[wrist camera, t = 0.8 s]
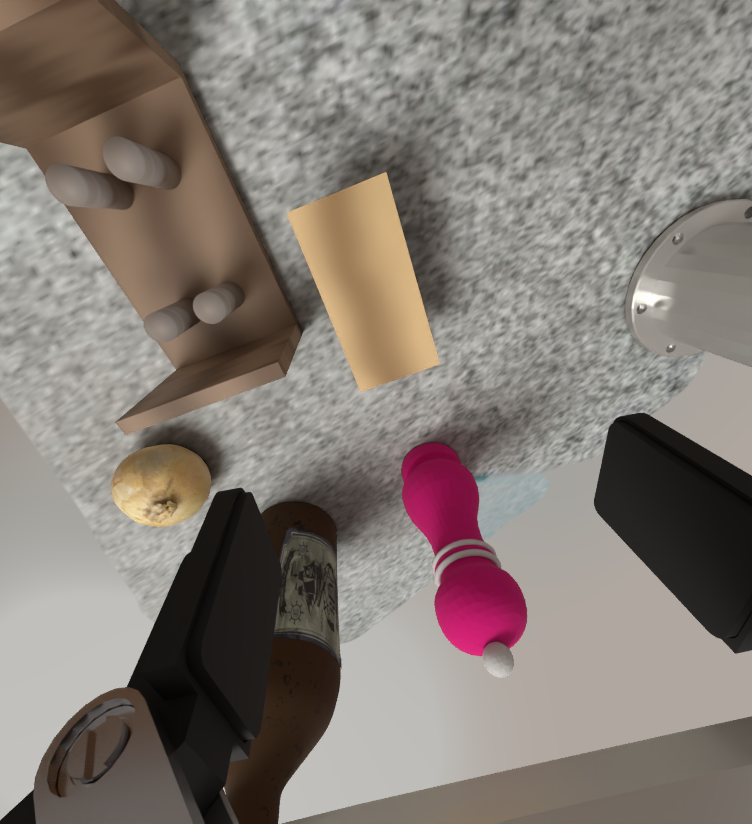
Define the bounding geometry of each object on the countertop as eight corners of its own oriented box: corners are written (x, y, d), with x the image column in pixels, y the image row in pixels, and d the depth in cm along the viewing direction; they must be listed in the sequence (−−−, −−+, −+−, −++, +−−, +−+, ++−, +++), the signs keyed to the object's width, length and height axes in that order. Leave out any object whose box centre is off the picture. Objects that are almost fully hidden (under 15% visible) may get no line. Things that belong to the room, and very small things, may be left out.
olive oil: (303, 574, 44) (262, 919, 22) (229, 536, 40) (91, 910, 18) (360, 526, 41) (378, 872, 19) (286, 480, 37) (203, 848, 15)
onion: (190, 508, 38) (160, 563, 32) (118, 468, 35) (69, 521, 29) (234, 463, 36) (210, 513, 30) (160, 417, 33) (117, 462, 27)
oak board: (382, 176, 22) (386, 171, 19) (432, 353, 27) (439, 364, 25) (292, 214, 22) (286, 212, 20) (359, 379, 28) (360, 392, 26)
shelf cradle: (178, 62, 22) (64, -49, 13) (302, 332, 30) (285, 376, 21) (26, 133, 23) (-175, 75, 14) (187, 375, 31) (125, 435, 22)
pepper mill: (471, 441, 37) (587, 639, 19) (453, 494, 40) (538, 706, 22) (403, 434, 36) (461, 637, 18) (391, 490, 39) (429, 707, 21)
